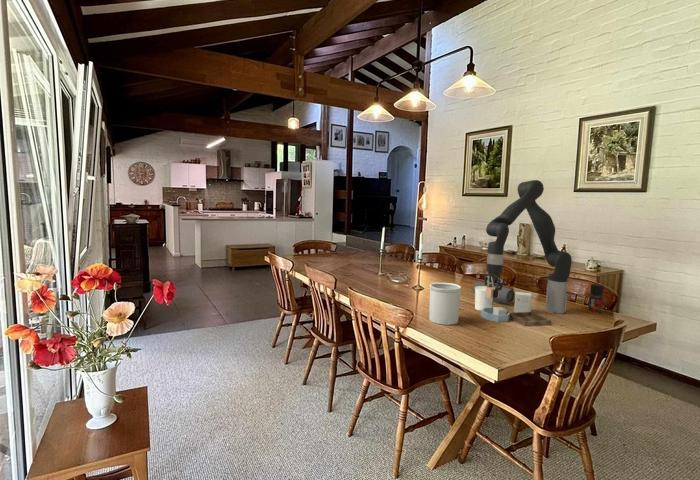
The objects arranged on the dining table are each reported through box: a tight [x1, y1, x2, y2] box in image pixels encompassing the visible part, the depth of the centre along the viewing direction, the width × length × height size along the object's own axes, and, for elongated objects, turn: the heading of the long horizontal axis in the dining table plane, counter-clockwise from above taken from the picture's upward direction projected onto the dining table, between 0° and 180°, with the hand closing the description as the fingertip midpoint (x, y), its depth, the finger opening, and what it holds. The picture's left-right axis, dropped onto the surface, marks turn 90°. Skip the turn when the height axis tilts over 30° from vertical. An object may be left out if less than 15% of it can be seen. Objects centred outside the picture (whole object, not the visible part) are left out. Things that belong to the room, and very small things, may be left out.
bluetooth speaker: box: [472, 281, 516, 304], centre depth 223 cm, size 23×9×10 cm, turn 34°
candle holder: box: [474, 286, 493, 312], centre depth 204 cm, size 10×10×12 cm
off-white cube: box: [493, 306, 508, 315], centre depth 190 cm, size 4×4×4 cm
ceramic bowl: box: [480, 306, 511, 323], centre depth 190 cm, size 13×13×4 cm
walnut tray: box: [509, 311, 552, 327], centre depth 186 cm, size 14×14×3 cm
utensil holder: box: [428, 282, 462, 326], centre depth 183 cm, size 15×15×18 cm
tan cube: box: [486, 287, 499, 298], centre depth 188 cm, size 4×4×4 cm
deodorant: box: [587, 283, 605, 314], centre depth 206 cm, size 6×6×15 cm
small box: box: [513, 291, 533, 312], centre depth 201 cm, size 8×6×10 cm
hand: (492, 296), depth 188 cm, fingers closed on tan cube, 4 cm apart
